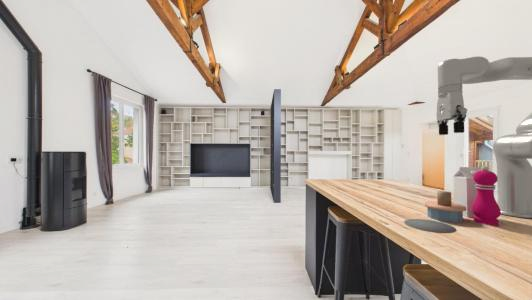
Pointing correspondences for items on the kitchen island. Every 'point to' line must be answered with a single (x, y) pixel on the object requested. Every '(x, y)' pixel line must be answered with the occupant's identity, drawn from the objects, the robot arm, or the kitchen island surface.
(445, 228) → the round mat
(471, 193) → the milk carton
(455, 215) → the bowl
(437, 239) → the kitchen island surface
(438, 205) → the lid
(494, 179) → the pepper mill
